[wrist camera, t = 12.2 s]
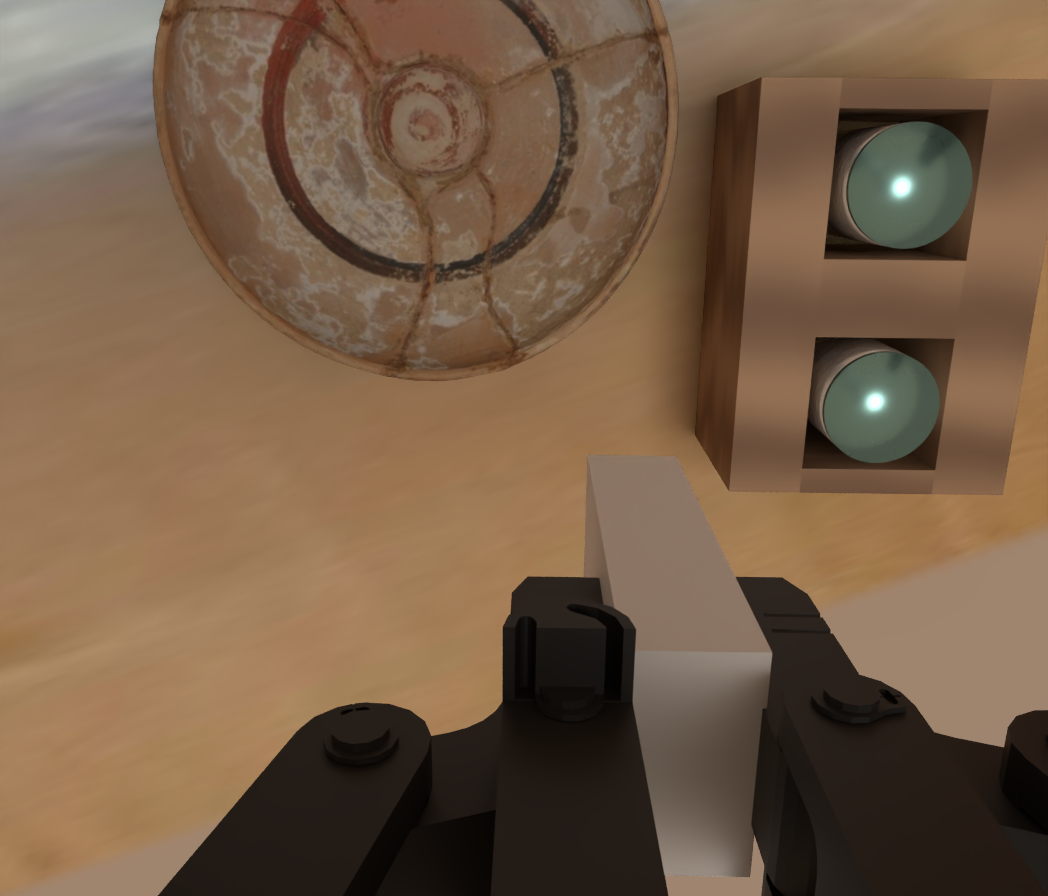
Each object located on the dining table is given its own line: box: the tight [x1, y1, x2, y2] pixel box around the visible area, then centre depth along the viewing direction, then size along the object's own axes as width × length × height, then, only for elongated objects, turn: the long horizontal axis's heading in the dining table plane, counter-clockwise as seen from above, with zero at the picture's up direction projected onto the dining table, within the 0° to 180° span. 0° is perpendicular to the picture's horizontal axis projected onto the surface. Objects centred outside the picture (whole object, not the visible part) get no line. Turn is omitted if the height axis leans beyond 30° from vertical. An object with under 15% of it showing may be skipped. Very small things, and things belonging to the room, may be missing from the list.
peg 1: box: [826, 122, 973, 249], centre depth 40 cm, size 5×5×8 cm
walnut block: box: [695, 77, 1048, 495], centre depth 42 cm, size 17×12×9 cm
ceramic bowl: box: [153, 0, 679, 381], centre depth 42 cm, size 23×24×5 cm
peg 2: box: [807, 337, 940, 463], centre depth 42 cm, size 5×5×8 cm
